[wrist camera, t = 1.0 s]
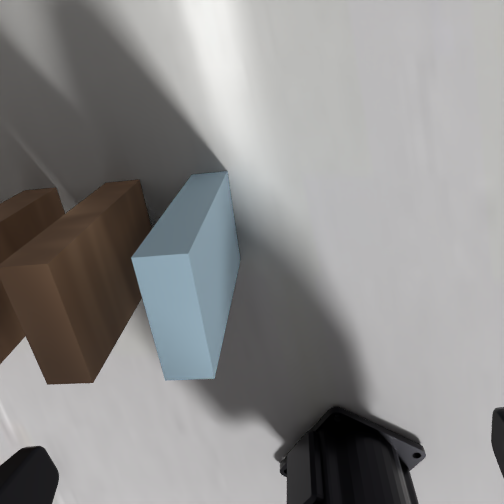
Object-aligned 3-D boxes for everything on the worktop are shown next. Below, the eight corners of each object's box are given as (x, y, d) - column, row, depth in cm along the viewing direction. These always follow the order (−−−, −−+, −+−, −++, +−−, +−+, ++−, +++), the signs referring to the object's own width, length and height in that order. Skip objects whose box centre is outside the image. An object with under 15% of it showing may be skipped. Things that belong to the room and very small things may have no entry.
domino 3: (227, 170, 18) (188, 253, 11) (240, 259, 20) (214, 378, 13) (191, 174, 18) (130, 257, 11) (208, 262, 20) (165, 380, 13)
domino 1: (56, 187, 19) (-82, 273, 12) (84, 270, 21) (-21, 386, 14) (24, 190, 19) (-131, 276, 12) (55, 272, 21) (-63, 388, 14)
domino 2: (139, 179, 19) (47, 263, 12) (160, 265, 21) (93, 382, 13) (105, 182, 19) (-5, 267, 12) (129, 267, 21) (47, 384, 14)
